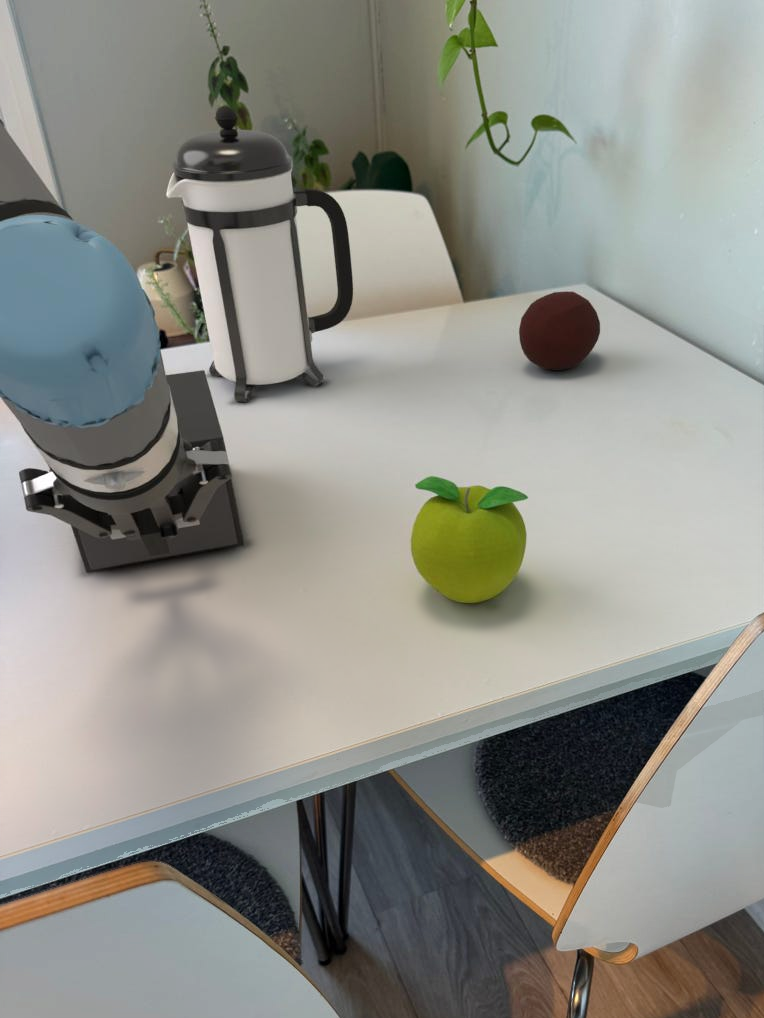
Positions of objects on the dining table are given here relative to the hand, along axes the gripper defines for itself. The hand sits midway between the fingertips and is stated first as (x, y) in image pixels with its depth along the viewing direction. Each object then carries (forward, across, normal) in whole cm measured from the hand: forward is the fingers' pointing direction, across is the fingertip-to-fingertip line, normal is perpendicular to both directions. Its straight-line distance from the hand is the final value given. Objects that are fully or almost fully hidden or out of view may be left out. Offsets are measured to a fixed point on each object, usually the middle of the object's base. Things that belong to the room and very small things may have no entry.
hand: (156, 538), depth 74 cm
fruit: (-1, +24, -10) cm, 26 cm away
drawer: (+11, 0, +4) cm, 12 cm away
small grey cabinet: (+15, 0, +6) cm, 16 cm away
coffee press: (+37, +16, +28) cm, 49 cm away
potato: (+30, +51, +21) cm, 63 cm away
